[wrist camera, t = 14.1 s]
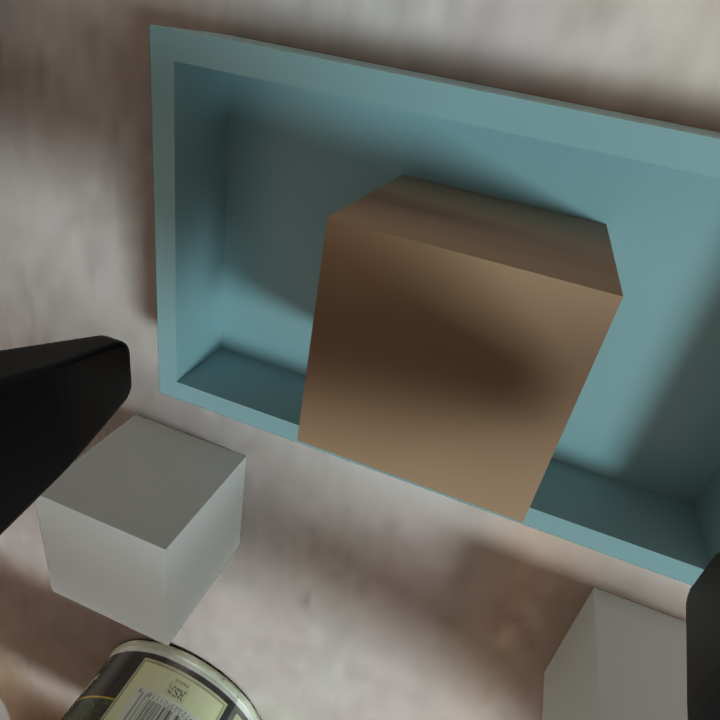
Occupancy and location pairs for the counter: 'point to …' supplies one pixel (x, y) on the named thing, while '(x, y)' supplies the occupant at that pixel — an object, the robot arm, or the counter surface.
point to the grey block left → (143, 525)
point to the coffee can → (159, 688)
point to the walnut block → (455, 337)
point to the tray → (464, 171)
